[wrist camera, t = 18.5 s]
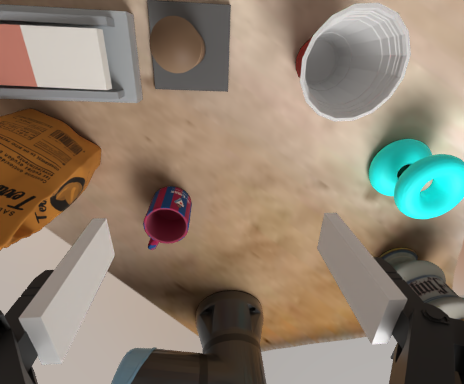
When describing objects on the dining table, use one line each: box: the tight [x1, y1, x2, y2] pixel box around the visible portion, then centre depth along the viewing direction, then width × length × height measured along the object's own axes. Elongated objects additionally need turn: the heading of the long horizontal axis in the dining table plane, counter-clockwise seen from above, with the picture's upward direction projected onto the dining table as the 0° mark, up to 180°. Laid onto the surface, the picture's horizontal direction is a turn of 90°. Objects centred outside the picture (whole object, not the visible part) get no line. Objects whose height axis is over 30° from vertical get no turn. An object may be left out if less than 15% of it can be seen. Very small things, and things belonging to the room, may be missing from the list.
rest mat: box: [147, 0, 231, 92], centre depth 34 cm, size 10×10×1 cm
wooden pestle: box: [150, 16, 206, 73], centre depth 27 cm, size 4×4×15 cm
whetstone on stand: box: [0, 4, 143, 103], centre depth 32 cm, size 10×20×6 cm, turn 88°
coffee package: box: [0, 109, 101, 250], centre depth 30 cm, size 10×12×22 cm
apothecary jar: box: [380, 248, 464, 321], centre depth 48 cm, size 12×12×18 cm
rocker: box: [0, 24, 112, 90], centre depth 29 cm, size 16×6×1 cm, turn 88°
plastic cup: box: [296, 3, 411, 121], centre depth 31 cm, size 11×11×12 cm
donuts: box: [369, 139, 464, 219], centre depth 40 cm, size 10×10×10 cm
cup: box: [143, 186, 192, 250], centre depth 43 cm, size 7×10×7 cm
